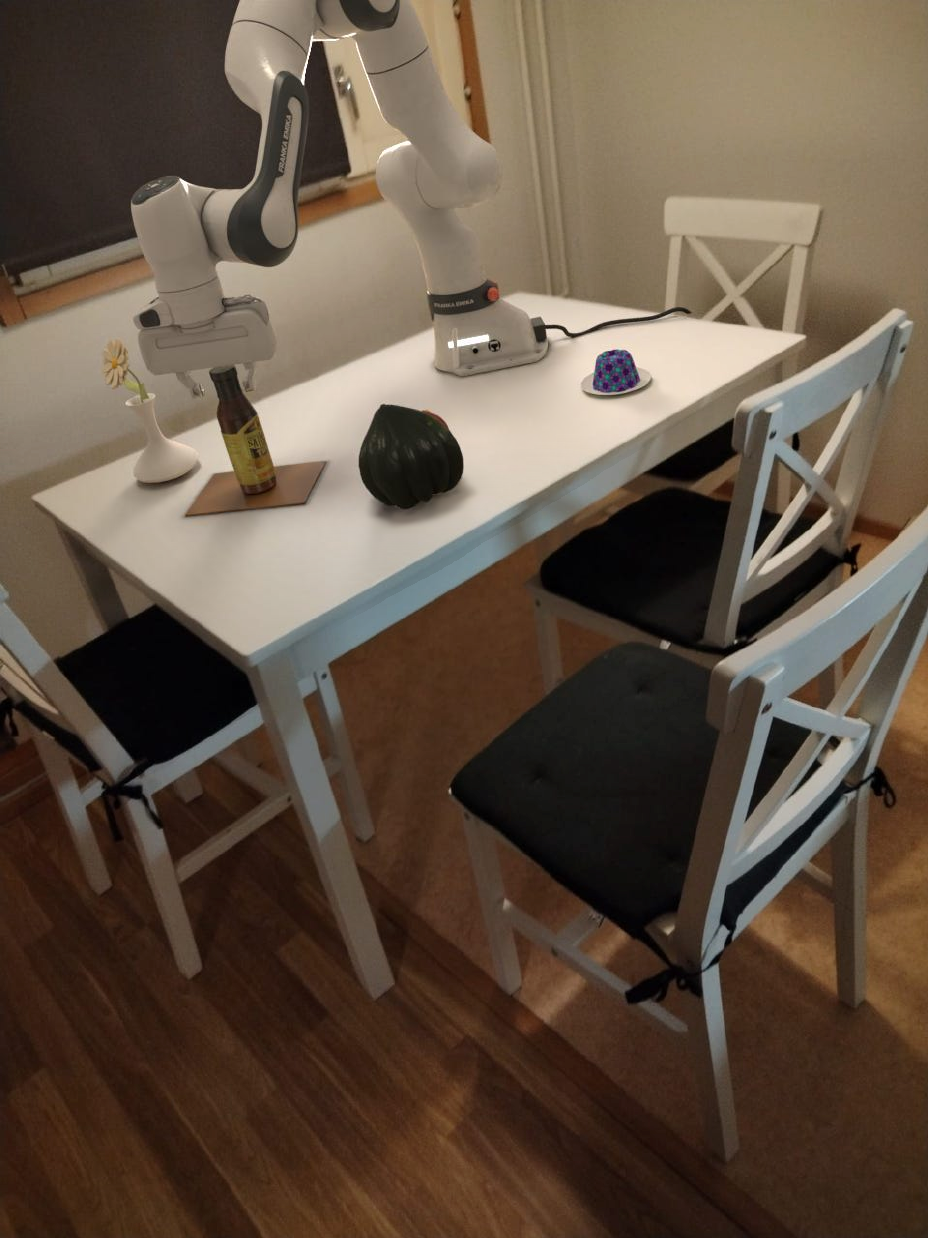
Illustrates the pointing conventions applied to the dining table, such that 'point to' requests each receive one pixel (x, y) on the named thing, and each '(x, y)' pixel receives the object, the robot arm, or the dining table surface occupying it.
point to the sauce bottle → (242, 433)
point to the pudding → (615, 374)
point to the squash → (408, 457)
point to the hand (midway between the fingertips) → (225, 393)
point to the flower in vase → (147, 423)
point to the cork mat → (287, 491)
